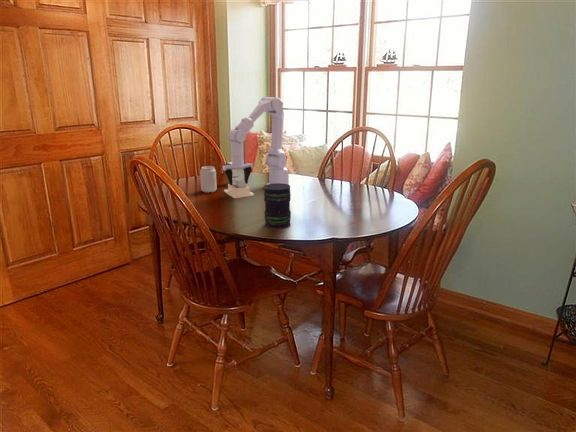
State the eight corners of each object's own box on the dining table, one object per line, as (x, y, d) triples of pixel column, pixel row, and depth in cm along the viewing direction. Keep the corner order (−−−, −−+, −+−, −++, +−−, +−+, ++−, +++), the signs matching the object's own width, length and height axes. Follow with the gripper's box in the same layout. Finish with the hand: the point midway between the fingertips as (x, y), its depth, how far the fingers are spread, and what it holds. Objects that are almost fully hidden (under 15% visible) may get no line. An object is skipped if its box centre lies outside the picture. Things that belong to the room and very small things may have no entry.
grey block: (239, 189, 229) (238, 177, 227) (245, 193, 222) (245, 180, 220) (232, 190, 227) (231, 178, 226) (238, 194, 221) (238, 181, 219)
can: (218, 189, 234) (217, 165, 230) (214, 193, 227) (213, 168, 223) (203, 189, 235) (202, 165, 231) (199, 192, 228) (197, 168, 224)
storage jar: (290, 220, 184) (290, 183, 179) (291, 228, 174) (291, 189, 170) (264, 221, 183) (263, 183, 179) (264, 229, 174) (263, 189, 170)
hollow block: (243, 189, 233) (243, 181, 232) (254, 195, 221) (254, 187, 220) (224, 191, 229) (223, 183, 228) (234, 198, 217) (233, 189, 216)
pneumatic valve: (224, 183, 246) (223, 160, 242) (243, 180, 252) (242, 158, 249) (229, 185, 242) (228, 162, 238) (248, 182, 248) (248, 159, 245)
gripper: (225, 158, 213) (226, 187, 217) (255, 155, 219) (256, 184, 223) (220, 155, 219) (221, 184, 223) (249, 153, 225) (250, 181, 229)
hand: (238, 184), depth 224 cm, fingers open, 7 cm apart
